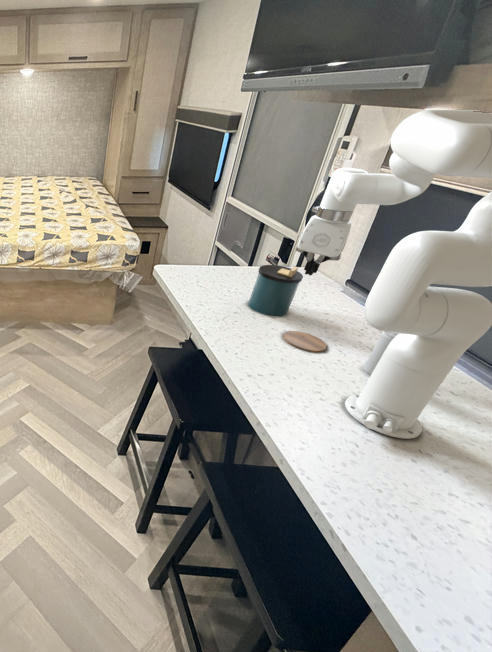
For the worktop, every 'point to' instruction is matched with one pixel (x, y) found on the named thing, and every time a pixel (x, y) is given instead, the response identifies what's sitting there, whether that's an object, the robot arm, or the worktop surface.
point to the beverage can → (378, 351)
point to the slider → (288, 272)
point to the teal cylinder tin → (273, 291)
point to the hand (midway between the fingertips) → (309, 273)
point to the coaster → (304, 341)
